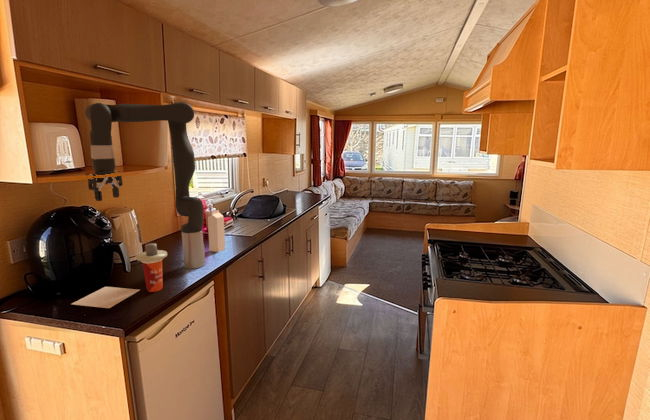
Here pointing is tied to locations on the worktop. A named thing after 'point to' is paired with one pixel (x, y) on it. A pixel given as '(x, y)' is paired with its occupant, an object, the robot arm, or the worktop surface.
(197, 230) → the robot arm
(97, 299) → the mat
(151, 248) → the lid
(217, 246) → the milk
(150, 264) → the paper cup
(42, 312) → the worktop surface
